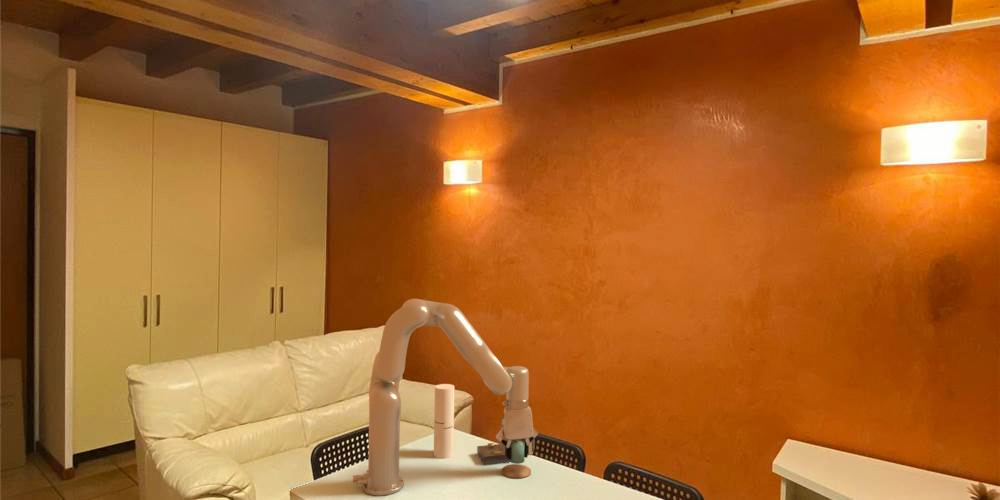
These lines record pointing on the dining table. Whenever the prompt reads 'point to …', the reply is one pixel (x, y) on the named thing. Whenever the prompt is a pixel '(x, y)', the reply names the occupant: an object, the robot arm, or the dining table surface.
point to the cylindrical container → (444, 421)
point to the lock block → (492, 454)
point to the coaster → (516, 471)
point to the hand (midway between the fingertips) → (516, 456)
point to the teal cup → (517, 451)
